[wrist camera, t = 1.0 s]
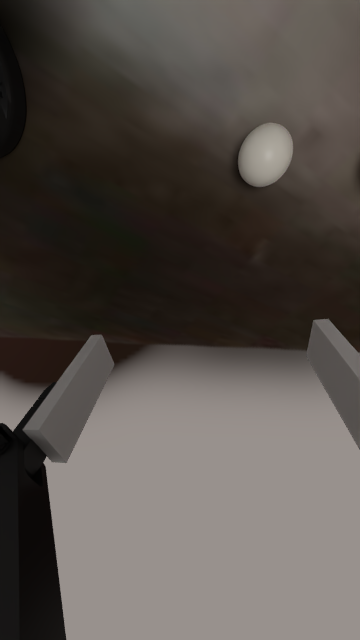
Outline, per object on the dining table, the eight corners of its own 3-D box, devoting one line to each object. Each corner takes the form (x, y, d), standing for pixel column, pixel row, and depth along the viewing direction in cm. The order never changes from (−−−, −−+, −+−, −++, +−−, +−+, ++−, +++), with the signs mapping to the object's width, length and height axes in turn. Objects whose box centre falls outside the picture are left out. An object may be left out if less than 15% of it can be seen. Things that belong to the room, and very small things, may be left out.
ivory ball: (228, 148, 25) (232, 140, 21) (276, 117, 24) (292, 100, 19) (244, 195, 28) (252, 198, 23) (289, 170, 26) (307, 167, 21)
